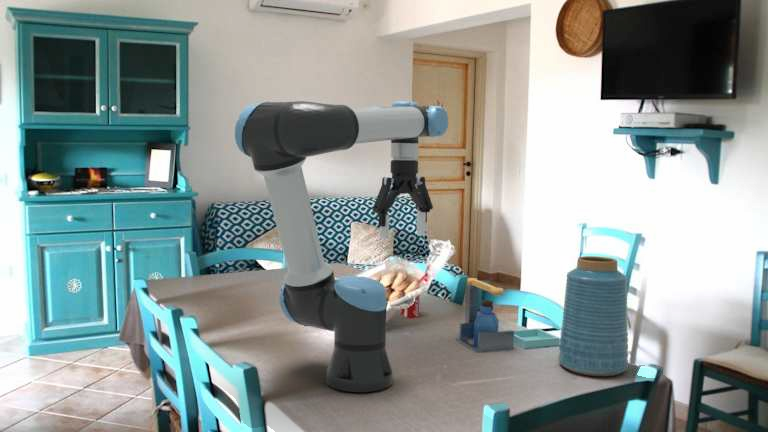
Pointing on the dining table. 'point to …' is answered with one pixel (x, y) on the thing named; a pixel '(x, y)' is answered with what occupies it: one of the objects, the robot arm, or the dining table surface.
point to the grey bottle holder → (485, 339)
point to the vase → (595, 319)
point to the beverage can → (411, 310)
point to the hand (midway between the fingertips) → (403, 237)
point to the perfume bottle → (485, 320)
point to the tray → (534, 338)
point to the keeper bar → (485, 286)
